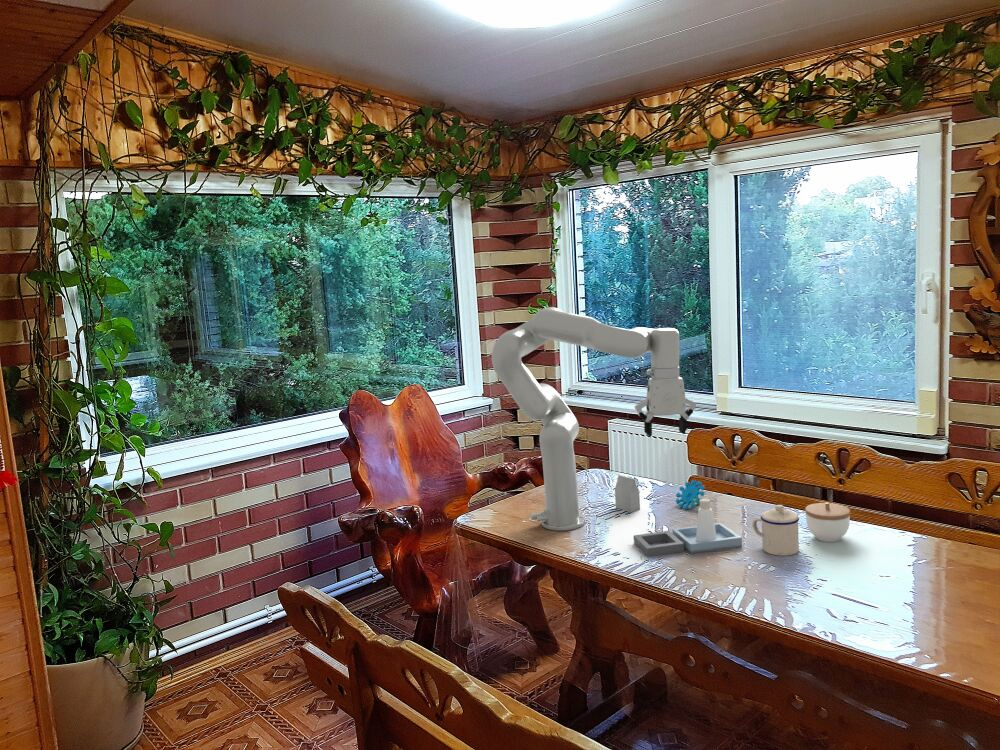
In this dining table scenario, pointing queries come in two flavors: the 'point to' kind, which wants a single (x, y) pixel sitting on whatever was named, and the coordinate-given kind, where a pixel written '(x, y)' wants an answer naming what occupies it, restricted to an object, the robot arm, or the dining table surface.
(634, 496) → the grey upright wedge block
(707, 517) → the pepper shaker
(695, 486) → the blue spiky cluster
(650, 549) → the socket block
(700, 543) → the parts tray
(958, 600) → the dining table surface
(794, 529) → the teacup with lid
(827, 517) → the lidded jar
